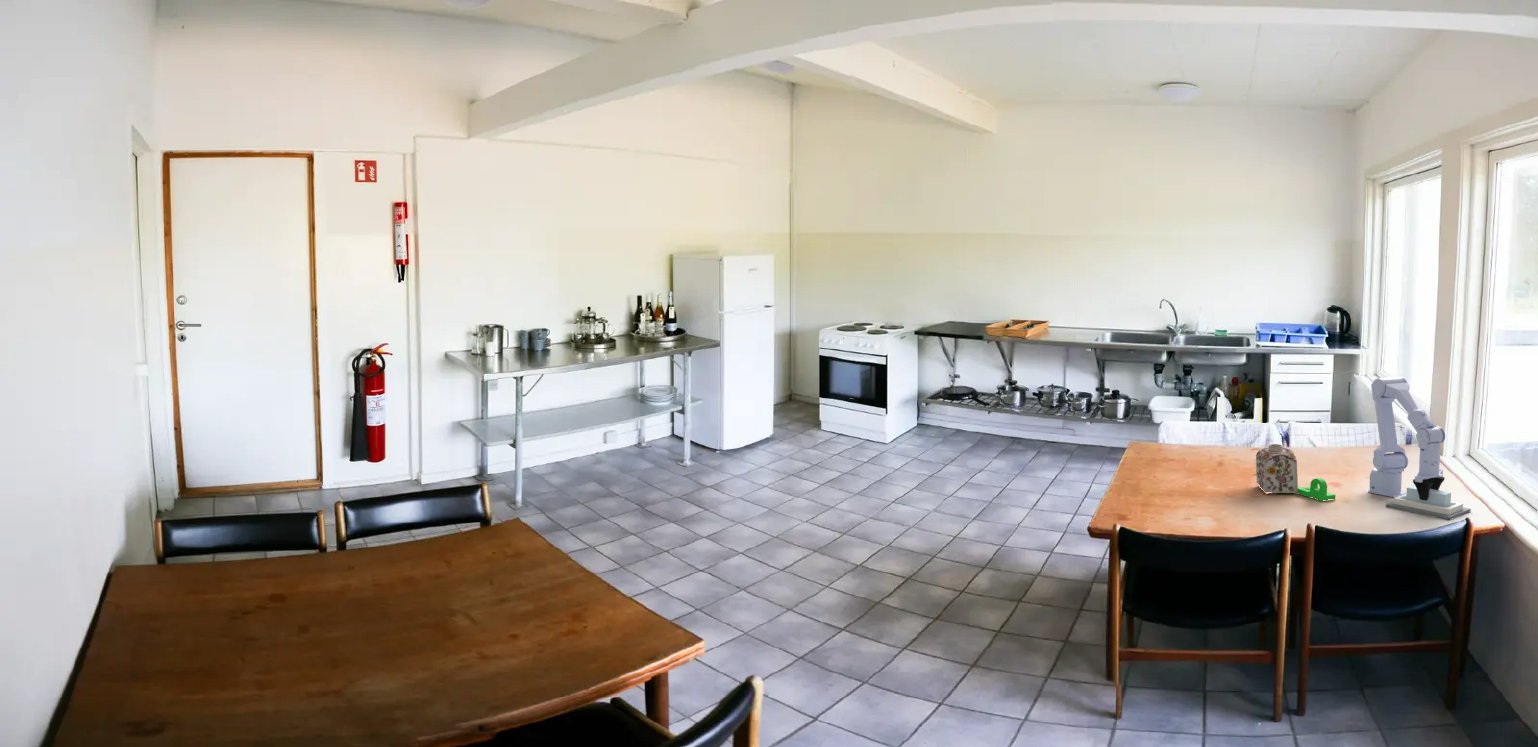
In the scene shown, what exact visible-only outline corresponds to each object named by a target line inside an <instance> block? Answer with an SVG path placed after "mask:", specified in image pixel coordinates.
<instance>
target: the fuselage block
mask: <svg viewBox="0 0 1538 747" xmlns="http://www.w3.org/2000/svg"><path fill="white" fill-rule="evenodd" d="M1406 493H1407V494H1406V500H1411V501H1416V502H1421V503H1426V504H1431V505H1435V506H1440V507H1445V508H1448V507H1450V504H1451V502H1452V501H1451V498H1452V492H1450V491H1446V490H1445V491H1444V490H1440V489H1439V490H1434V489H1430V491H1429V496H1428V499H1427V501H1425V500H1420V498H1419V494H1418V491H1417V488H1416V486H1415V485H1410V486H1407V487H1406Z"/></svg>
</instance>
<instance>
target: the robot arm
mask: <svg viewBox="0 0 1538 747" xmlns="http://www.w3.org/2000/svg"><path fill="white" fill-rule="evenodd" d="M1370 387H1371V393H1372V400H1373V401H1374V407H1375V414H1376V415H1375V416H1376V423H1377V429H1378V438H1379V444H1380V445H1379V446H1378V447H1376V448H1375V449H1374V450H1373V459H1372V464H1373V467H1374V468H1373V469H1372V470H1371V472H1370V473H1369V490H1368V493H1371V494H1375V495H1380V496H1385V497H1390V498H1395V497H1398V496H1401V495H1404V494H1406V493H1407V491H1402V479H1403V478H1402V477H1403V475H1402V474H1403V472H1405V469H1407V467H1408V465H1409V458H1408V456H1407V454H1406V451H1405V448H1404V447H1403V446H1401V445H1399V444H1398V439H1397V433H1396V424H1395V417H1394V410H1393V409H1394V407H1393V402H1394V401H1395V400H1396V401H1397V402H1398V403H1399V404H1400V405H1401V406H1402V408H1403V409H1404V411H1406V413H1407V414H1408V415H1407V421H1409V423H1410V424H1411V425H1412V427H1413V429H1414V430H1415V431H1416V434H1415V437H1416V441H1417V443H1418V444H1417V446H1418V448H1419V462H1418V463H1419V465H1418V467H1419V468H1418V472H1417V474H1416V475H1415V476H1414V479H1413V478H1412V483H1413V485H1414V486H1416V488H1417V491H1418V494H1419V498H1420V500H1425V501H1427V499H1428V496H1429V491H1430V489H1434V490H1440V488H1441V485H1442V484H1443V482H1444V481H1445V480H1446V478H1445V476H1444V475H1443V473H1444V472H1443V471H1444V470H1443V469H1441V468H1440V466H1441V465H1440V458H1441V444H1442V443H1443V442H1444V441H1445V440H1446V434H1445V433H1446V432H1445V430H1444V429H1443V427H1441V426H1438V425H1437V424H1435V423H1434V422H1433V421H1432V419H1431V418H1430V417H1429V415H1428V414H1427V413H1426V411H1425V410H1422V409H1419V407H1418V405H1417V403H1416V402H1415V400H1414V398H1413V396H1412V395H1411V393H1410V383H1408V380H1407V379H1406V377H1403V376H1398V377H1383V378H1381V377H1377V378H1375V379H1374V380H1373V382H1372V383H1371V385H1370Z"/></svg>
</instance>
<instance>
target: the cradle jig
mask: <svg viewBox="0 0 1538 747" xmlns="http://www.w3.org/2000/svg"><path fill="white" fill-rule="evenodd" d="M1406 494H1407V492H1406ZM1406 494H1404V495H1401V496H1398V497H1393V501H1390V502H1387V503H1386V504H1385V506H1386V507H1387V508H1391V509H1396V510H1400V511H1405V512H1410V513H1416V514H1419V515H1425V516H1429V517H1434V518H1438V519H1442V520H1447V519H1451V520H1453V519H1455V517H1456V518H1458V517H1461V516H1463V515H1465V514H1468V513H1470V512H1471V511H1472V510H1471V508H1468V507H1464V503H1460V502H1456V501H1451V504H1450V507H1448V508H1445V507H1440V506H1435V505H1431V504H1426V503H1421V502H1416V501H1411V500H1406ZM1460 515H1461V516H1460ZM1457 516H1458V517H1457ZM1452 518H1453V519H1452Z"/></svg>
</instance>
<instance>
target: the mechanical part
mask: <svg viewBox="0 0 1538 747" xmlns="http://www.w3.org/2000/svg"><path fill="white" fill-rule="evenodd" d="M1298 493H1299V494H1298V495H1300V494H1302V495H1301V496H1303V495H1305V496H1304V497H1306V496H1308V497H1307V498H1309V497H1313V498H1316V499H1318V500H1321V501H1323V500H1328V499H1335V500H1336V494H1335V493H1331V492H1328V484H1327V481H1326V480H1325V479H1323V478H1321V477H1320V478H1319V477H1318V478H1314V479H1313V478H1312V479H1311V481H1310V486H1309V487H1307V486H1306V487H1305V486H1302V487H1298ZM1318 500H1317V501H1318ZM1321 501H1320V502H1321ZM1323 502H1324V501H1323Z"/></svg>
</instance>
